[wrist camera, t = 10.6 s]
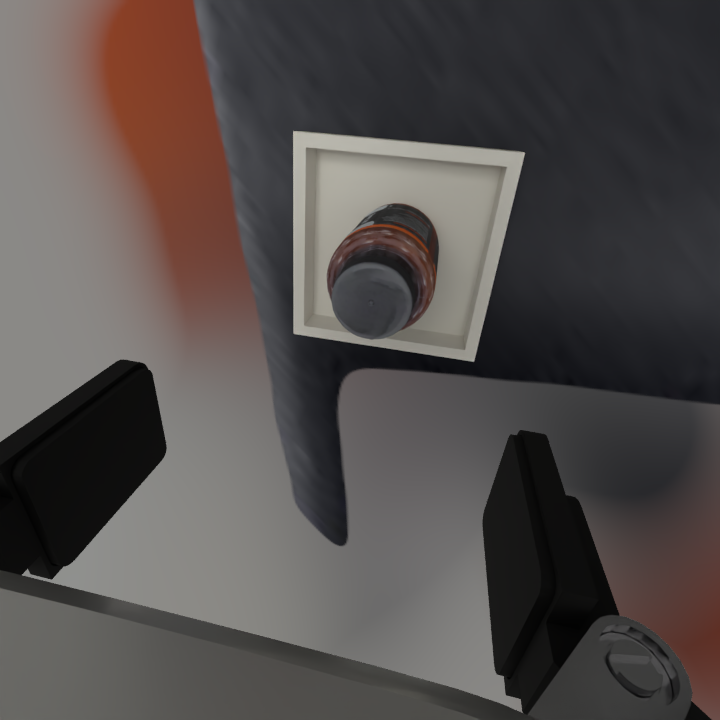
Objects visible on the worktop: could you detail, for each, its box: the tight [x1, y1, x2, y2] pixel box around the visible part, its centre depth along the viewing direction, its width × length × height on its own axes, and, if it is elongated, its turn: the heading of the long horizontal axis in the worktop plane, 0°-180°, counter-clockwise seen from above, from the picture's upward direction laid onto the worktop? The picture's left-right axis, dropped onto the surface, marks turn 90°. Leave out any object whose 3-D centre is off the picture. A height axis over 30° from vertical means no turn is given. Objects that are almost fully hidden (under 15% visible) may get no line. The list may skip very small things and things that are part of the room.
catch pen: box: [293, 131, 525, 362], centre depth 29 cm, size 14×14×3 cm
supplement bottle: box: [327, 203, 439, 340], centre depth 25 cm, size 6×6×11 cm
